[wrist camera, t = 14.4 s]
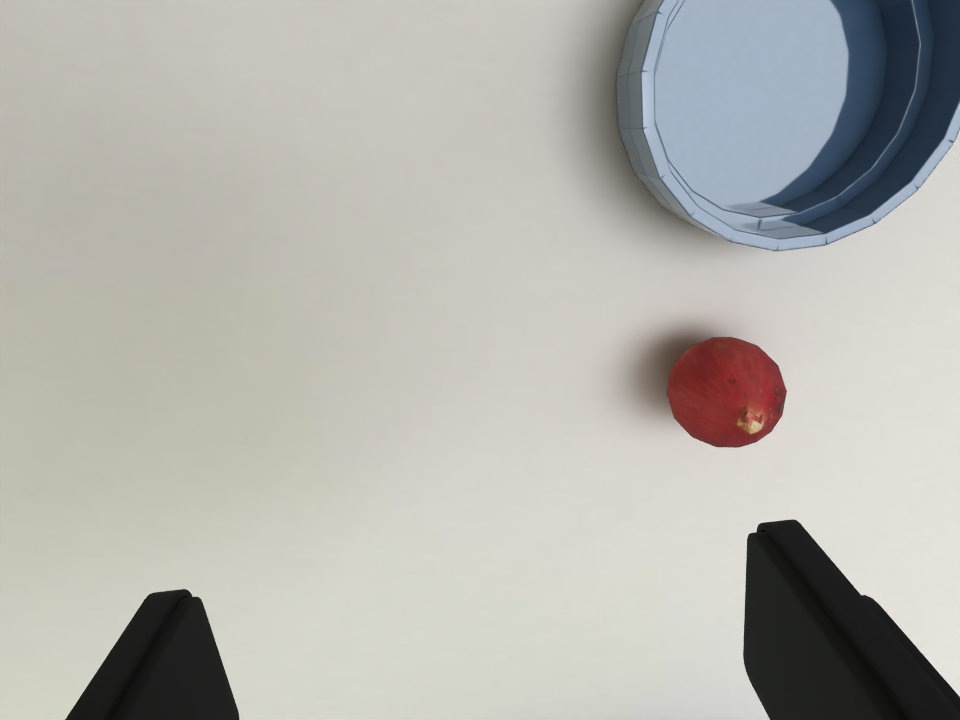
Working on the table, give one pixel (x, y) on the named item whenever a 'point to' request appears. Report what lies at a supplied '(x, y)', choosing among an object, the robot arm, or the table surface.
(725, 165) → the bowl
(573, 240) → the table surface
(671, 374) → the pomegranate
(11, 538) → the table surface
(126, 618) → the table surface
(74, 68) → the table surface
